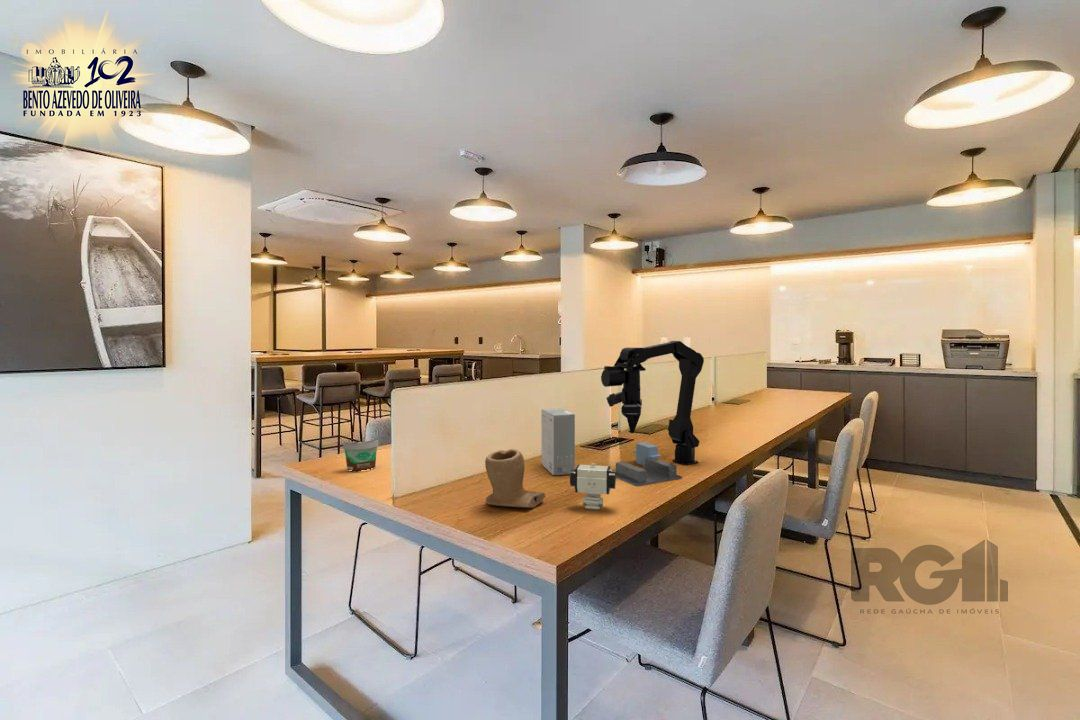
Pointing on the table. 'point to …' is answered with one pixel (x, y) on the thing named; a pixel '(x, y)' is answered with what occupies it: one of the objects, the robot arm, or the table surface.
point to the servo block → (645, 452)
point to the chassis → (647, 472)
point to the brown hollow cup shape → (509, 480)
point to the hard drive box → (558, 441)
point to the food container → (361, 455)
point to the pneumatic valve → (593, 483)
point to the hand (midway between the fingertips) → (632, 430)
